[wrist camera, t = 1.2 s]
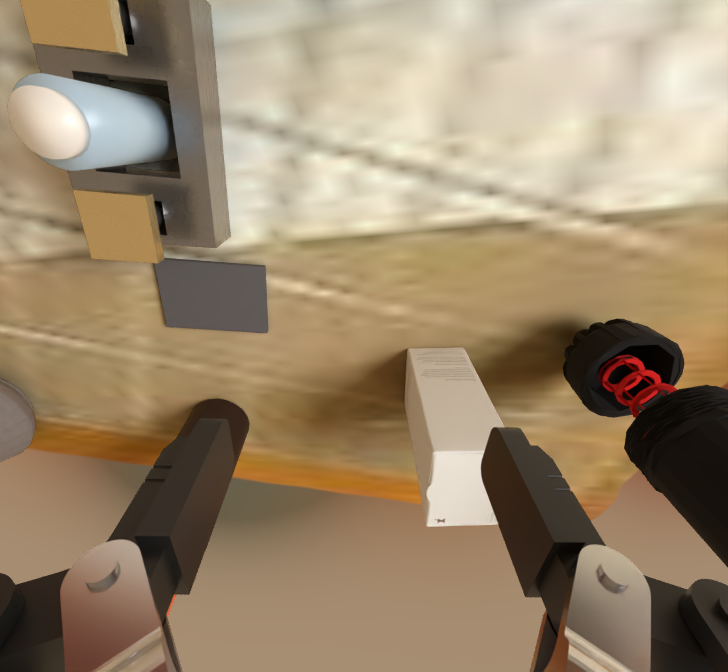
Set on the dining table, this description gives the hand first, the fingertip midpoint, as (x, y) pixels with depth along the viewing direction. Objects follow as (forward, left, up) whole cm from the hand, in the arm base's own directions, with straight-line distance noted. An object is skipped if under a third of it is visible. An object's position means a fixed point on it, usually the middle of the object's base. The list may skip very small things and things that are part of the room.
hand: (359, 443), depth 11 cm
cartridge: (-7, -16, -25) cm, 31 cm away
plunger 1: (-13, -16, -22) cm, 30 cm away
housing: (-7, -16, -25) cm, 31 cm away
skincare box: (+15, +10, -25) cm, 31 cm away
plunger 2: (-1, -16, -22) cm, 27 cm away
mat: (+7, -13, -25) cm, 29 cm away
